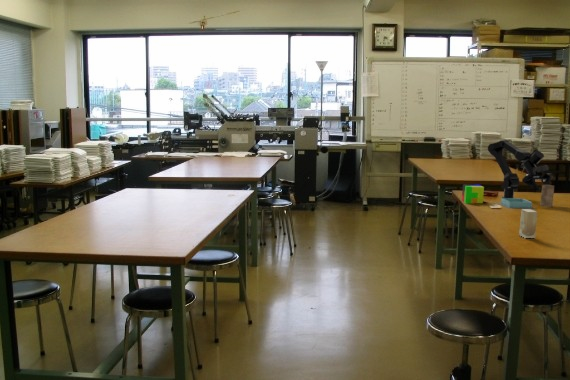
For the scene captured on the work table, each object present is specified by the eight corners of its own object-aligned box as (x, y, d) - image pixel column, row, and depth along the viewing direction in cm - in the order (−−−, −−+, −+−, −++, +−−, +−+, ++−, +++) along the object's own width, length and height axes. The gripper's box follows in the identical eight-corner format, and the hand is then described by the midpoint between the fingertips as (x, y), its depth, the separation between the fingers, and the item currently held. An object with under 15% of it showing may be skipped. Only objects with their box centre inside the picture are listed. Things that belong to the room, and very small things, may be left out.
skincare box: (518, 236, 249) (520, 208, 247) (527, 235, 250) (530, 208, 248) (525, 239, 243) (528, 211, 241) (535, 239, 243) (537, 211, 241)
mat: (496, 203, 333) (496, 202, 333) (523, 204, 333) (523, 203, 333) (508, 209, 315) (508, 208, 315) (536, 209, 315) (536, 208, 315)
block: (540, 206, 327) (542, 184, 325) (546, 205, 328) (548, 184, 326) (546, 207, 322) (548, 186, 321) (552, 207, 324) (554, 185, 322)
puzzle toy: (478, 201, 342) (479, 184, 340) (482, 204, 332) (483, 187, 330) (461, 200, 343) (462, 184, 341) (465, 203, 333) (466, 186, 331)
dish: (500, 203, 330) (501, 198, 330) (522, 204, 330) (522, 198, 330) (509, 207, 318) (509, 201, 318) (531, 207, 318) (532, 202, 318)
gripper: (527, 160, 325) (540, 181, 317) (551, 159, 332) (565, 180, 323) (516, 172, 334) (529, 193, 325) (540, 171, 340) (553, 192, 331)
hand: (544, 189), depth 326 cm, fingers open, 9 cm apart
